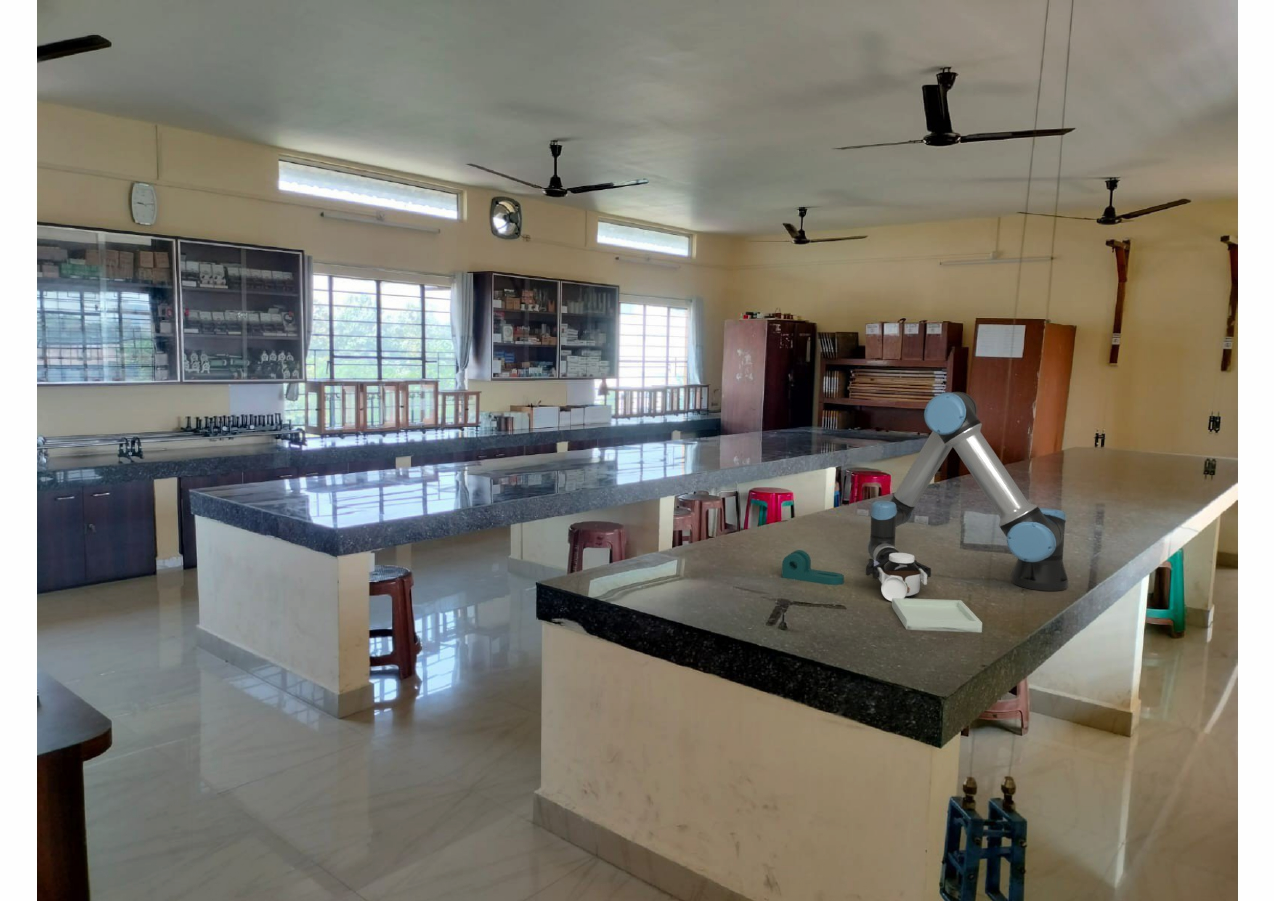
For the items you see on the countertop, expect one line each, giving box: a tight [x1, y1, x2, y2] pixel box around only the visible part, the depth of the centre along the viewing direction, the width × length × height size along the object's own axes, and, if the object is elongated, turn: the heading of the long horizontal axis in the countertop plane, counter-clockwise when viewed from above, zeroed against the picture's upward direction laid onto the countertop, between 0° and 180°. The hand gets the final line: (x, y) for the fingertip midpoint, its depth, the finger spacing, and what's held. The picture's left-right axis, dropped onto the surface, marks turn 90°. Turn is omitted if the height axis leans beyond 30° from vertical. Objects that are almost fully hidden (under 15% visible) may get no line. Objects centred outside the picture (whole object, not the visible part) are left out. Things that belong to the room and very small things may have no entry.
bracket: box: [781, 549, 845, 586], centre depth 242 cm, size 18×7×8 cm, turn 60°
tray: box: [891, 598, 983, 633], centre depth 205 cm, size 18×18×2 cm
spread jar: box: [880, 552, 921, 602], centre depth 223 cm, size 12×11×12 cm
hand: (904, 579), depth 219 cm, fingers closed on spread jar, 11 cm apart
